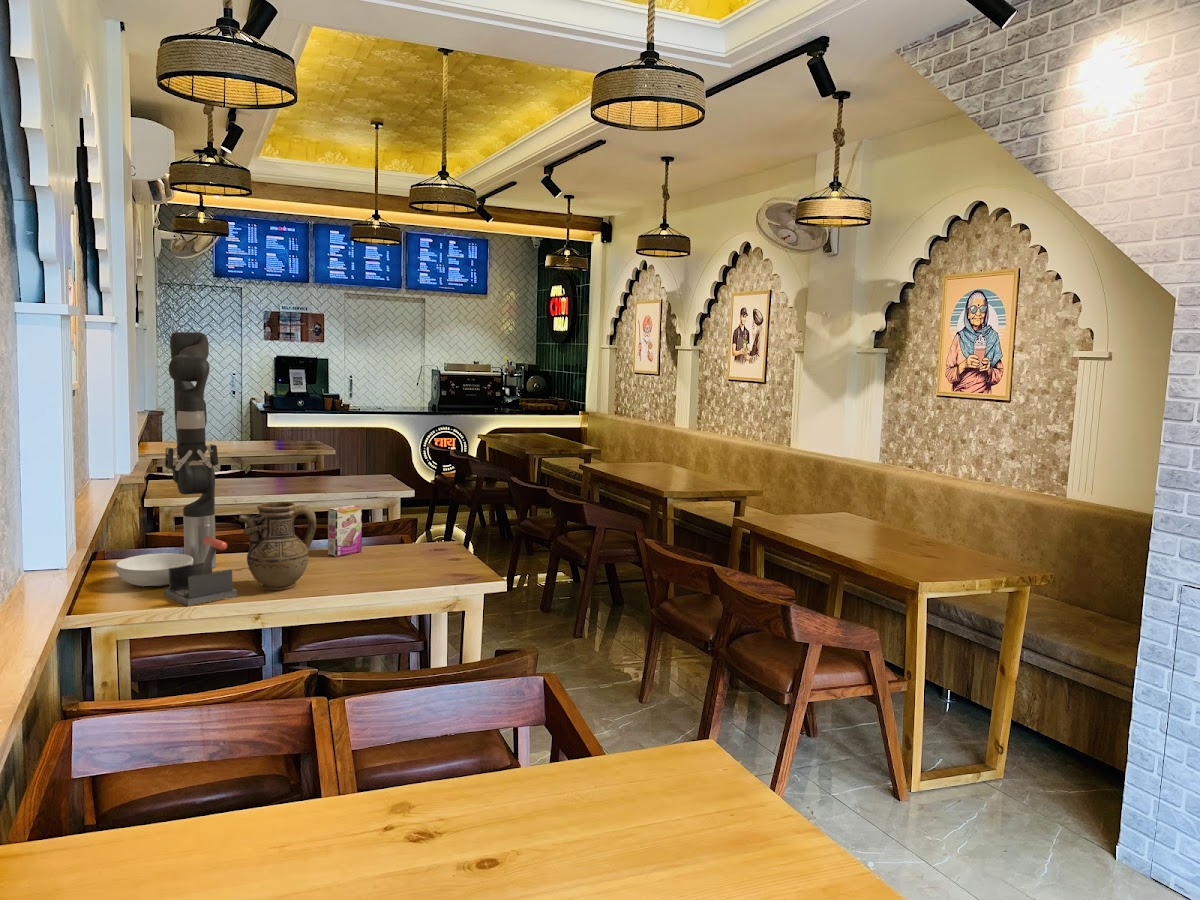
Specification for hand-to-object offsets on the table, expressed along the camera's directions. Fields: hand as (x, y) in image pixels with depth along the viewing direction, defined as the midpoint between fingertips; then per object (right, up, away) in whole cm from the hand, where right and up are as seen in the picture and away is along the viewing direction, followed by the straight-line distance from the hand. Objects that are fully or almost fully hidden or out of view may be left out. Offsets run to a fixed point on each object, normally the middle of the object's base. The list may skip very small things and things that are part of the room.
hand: (192, 481), depth 263 cm
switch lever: (+5, -28, -5) cm, 29 cm away
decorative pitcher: (+23, -32, +7) cm, 40 cm away
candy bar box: (+30, -27, +51) cm, 65 cm away
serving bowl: (-15, -31, +9) cm, 35 cm away
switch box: (+5, -33, -5) cm, 33 cm away
